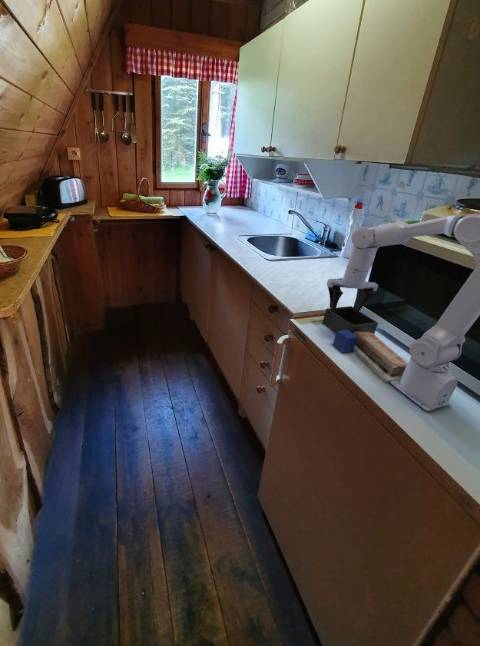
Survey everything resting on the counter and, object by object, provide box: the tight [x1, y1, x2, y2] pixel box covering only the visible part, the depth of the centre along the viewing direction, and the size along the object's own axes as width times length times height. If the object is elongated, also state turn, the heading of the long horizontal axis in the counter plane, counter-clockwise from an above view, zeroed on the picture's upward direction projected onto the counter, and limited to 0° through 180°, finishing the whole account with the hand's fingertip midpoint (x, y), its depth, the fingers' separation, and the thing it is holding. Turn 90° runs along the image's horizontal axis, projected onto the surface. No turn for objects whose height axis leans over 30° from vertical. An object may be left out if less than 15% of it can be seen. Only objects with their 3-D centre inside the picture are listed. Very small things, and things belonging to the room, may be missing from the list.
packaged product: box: [352, 332, 408, 384], centre depth 86 cm, size 18×5×10 cm
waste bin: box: [322, 305, 379, 335], centre depth 100 cm, size 11×11×6 cm
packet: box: [332, 330, 358, 354], centre depth 90 cm, size 4×4×5 cm
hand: (344, 309), depth 93 cm, fingers open, 7 cm apart
